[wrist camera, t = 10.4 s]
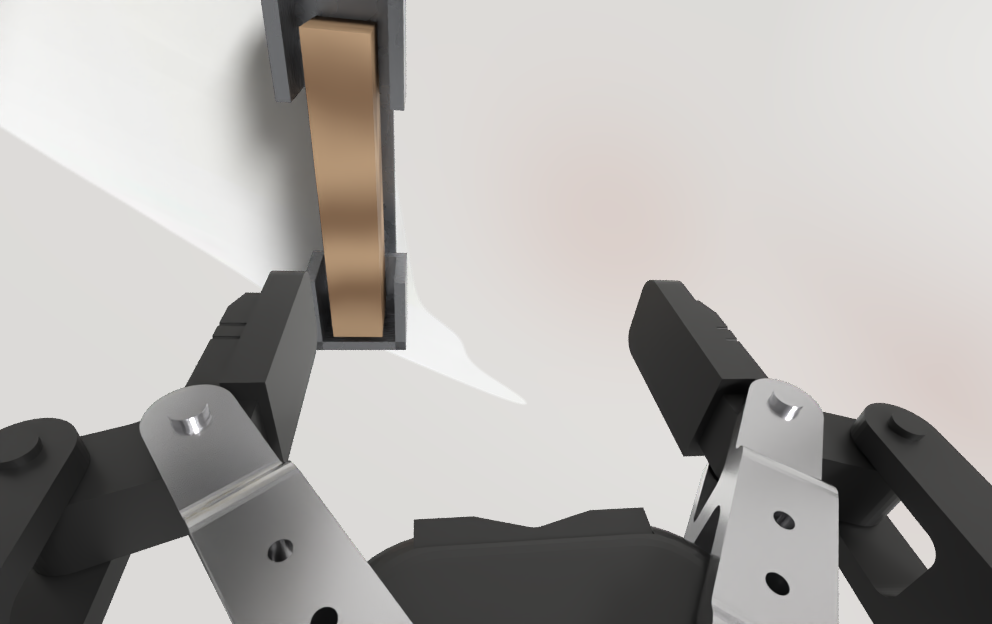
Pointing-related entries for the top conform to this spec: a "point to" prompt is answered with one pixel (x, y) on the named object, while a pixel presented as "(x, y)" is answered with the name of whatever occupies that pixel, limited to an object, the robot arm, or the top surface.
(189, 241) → the top surface
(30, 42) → the top surface
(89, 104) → the top surface
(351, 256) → the rail
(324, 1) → the bracket stand
